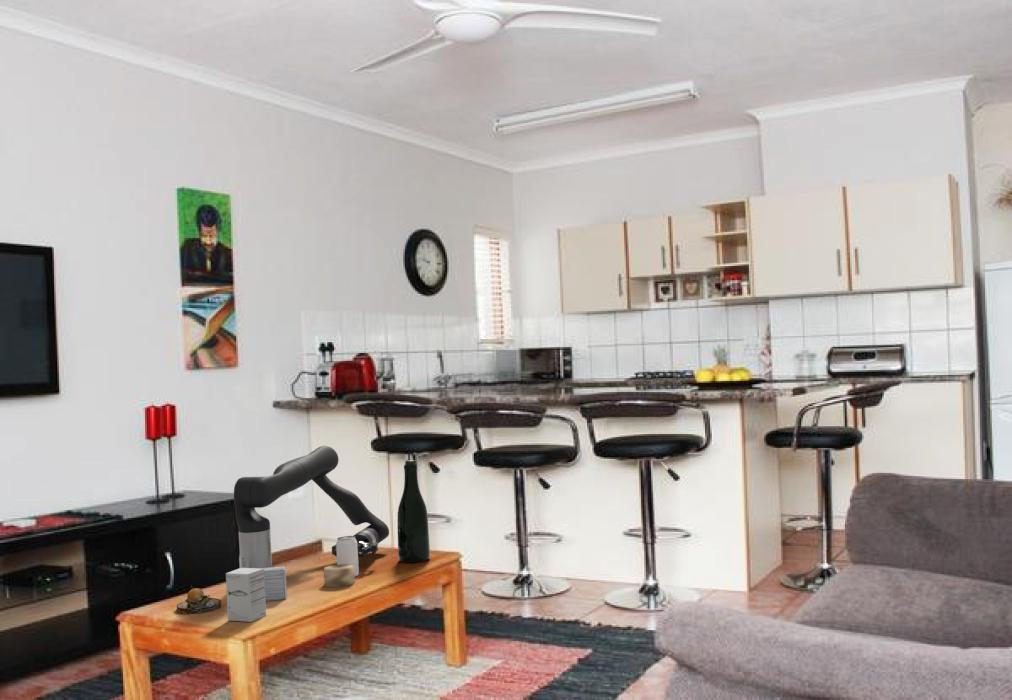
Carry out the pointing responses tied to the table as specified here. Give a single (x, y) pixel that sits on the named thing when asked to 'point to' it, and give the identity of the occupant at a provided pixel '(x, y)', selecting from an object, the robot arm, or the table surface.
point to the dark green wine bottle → (412, 519)
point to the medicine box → (275, 583)
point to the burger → (198, 603)
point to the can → (347, 552)
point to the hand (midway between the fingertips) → (349, 552)
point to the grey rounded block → (339, 575)
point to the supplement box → (245, 594)
